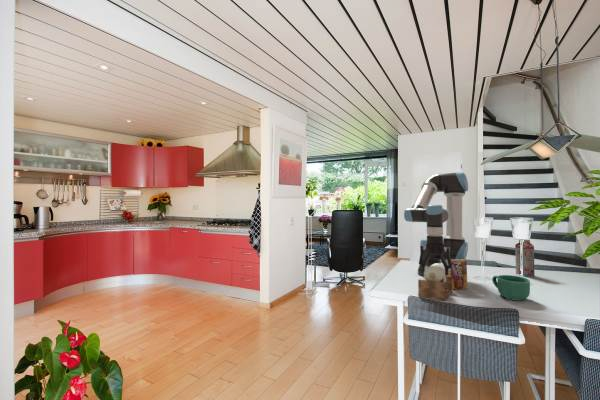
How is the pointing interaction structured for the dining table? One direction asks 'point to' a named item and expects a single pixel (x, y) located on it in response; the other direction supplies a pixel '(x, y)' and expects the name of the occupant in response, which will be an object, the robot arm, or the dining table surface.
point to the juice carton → (525, 258)
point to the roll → (434, 272)
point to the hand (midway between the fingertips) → (435, 280)
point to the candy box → (458, 273)
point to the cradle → (435, 288)
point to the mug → (512, 286)
